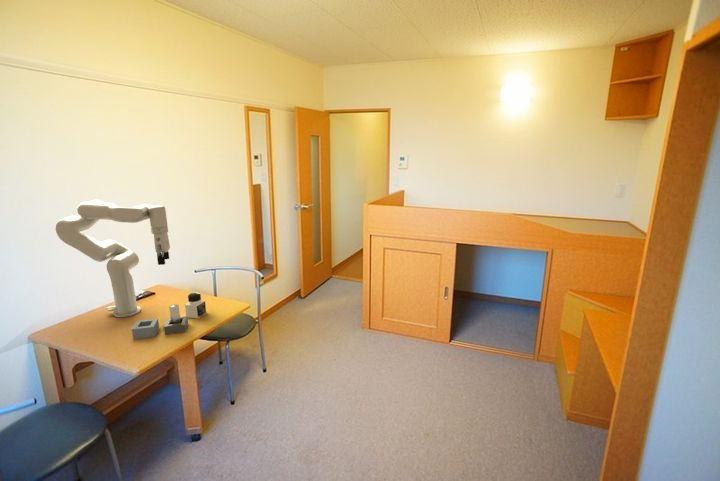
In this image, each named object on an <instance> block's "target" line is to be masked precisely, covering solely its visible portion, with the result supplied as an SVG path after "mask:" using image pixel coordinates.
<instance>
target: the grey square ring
mask: <svg viewBox="0 0 720 481" xmlns="http://www.w3.org/2000/svg"><path fill="white" fill-rule="evenodd" d="M180 321H181V323H179V324H171V317H169V318H167V319H166V322H165V323H164V325H163V331H164V332H163V333H164V335H171V334H180V333H187V328H188V326H189V317H188V316H186V315H185V316H180Z"/></svg>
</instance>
